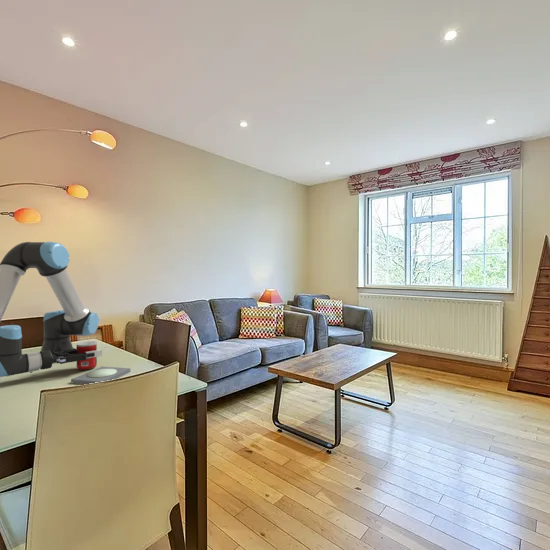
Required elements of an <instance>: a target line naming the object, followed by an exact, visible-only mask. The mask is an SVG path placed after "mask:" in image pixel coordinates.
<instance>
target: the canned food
mask: <svg viewBox="0 0 550 550" xmlns="http://www.w3.org/2000/svg"><path fill="white" fill-rule="evenodd" d="M97 346H98V345H97V342H96V341H93V340H92V341H91V340H89V341H81V342H78V343H76V348H75V349H76V351H77V354H79V353H86V352H89V351H95V350H98V349H97V348H98V347H97ZM97 360H98V359H97V357H92V358H87V360H86V361H85V360H82V361H76V369H78V370H81V371H83V370H92V369H95V368H96V367H97V364H98V363H97V362H98V361H97Z"/></svg>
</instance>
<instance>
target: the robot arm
mask: <svg viewBox="0 0 550 550" xmlns="http://www.w3.org/2000/svg"><path fill="white" fill-rule="evenodd" d="M69 253H70V252H69V251H68V249H67V248H66V247H65V246H64V245H63V244H61V243H59V242H53V241H45V242H44V241H35V242H33V241H25V242H21V243H18V244H16V245H15V246H13V247H12V248H11V249H10V250H9V251H7V252H6V254H5V255H4V257H3V258H2V260H1V261H0V322H2V321H1V320H2V319H3V316H4V314H5V312H6V309H7V308H8V305H9V303H10V302H11V299H12V296H13V294H14V292H15V290H16V287H17V285H18V284H19V281H20V279H21V277H22V276H24V275H25V274H26V272H27V271H28V270H29V269H36V270H37V271H38V274H39V275H40V276H41V277H43V278H46V280H47V282H48V284H49V286H50V288H51V289H52V291H53V294H54V295H55V297H56V298H57V300H58V302H59V305H60V306H61V307H62V309H61V310H56V311H55V310H54V311H49V312H46V313H44V315H43V320H42V322H43V342H42V345H41V349H40V351H39V352H38V351H33V352H27V353H23V346H22V345H23V344H22V343H23V334H22V327H21V326H20V325H17V324H9V325H2V326H1V325H0V378H4V377H11V376H14V375H20V374H25V373H30V374H32V373H33V372H35V371H36V372H37V371H40V370H42V371H43V370H46V369H51V368H52V367H53V364H60V365H62V364H67V363H75V362H77V361H82V360H85V361H86V360H87V358H92V357H98V358H99V357H102V356H103V350H102V349H97V350H95V351H89V352H86V353H79V354H77V351H76V348H74V347H73V343H72V340H71V336H78V337H79V336H83V337H84V336H91V335H93V334H95V333H96V332H97V330H98V327H99V324H100V317H99V315H98V314H97V313H95V312H91V310H90V309H89V306H86V305H84V304H83V302H82V299H81V298H80V295H79V294H78V291H77V290H76V288H75V286H74V284H73V281H72V279H71V277H70V275H69V273H68V271H67V268H68V265H69V262H70V258H69V257H70V254H69Z"/></svg>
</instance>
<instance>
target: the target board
mask: <svg viewBox="0 0 550 550" xmlns="http://www.w3.org/2000/svg"><path fill="white" fill-rule="evenodd" d="M130 372H131V368H129V367H118V366H117V367H116V366H115V367H114V366H102V365H101V366H100V367H98V368H96V369H95V368H94V369H93V370H91V371H87V372H85V373H83V374H80V375H78V376H75V377H74V378H71V379H70V383H71V382H73V383H72V384H76V383H82V384H81V385H89V383H95V382H101V381H107V380H112V379H115V380H117V379H119V378H120V376H121V377H123V376H125V375H127V374H129V373H130Z"/></svg>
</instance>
